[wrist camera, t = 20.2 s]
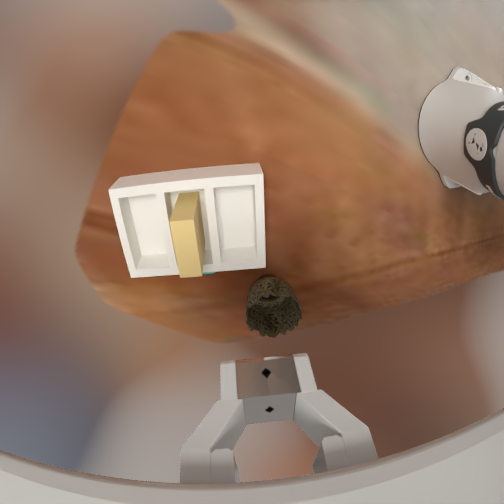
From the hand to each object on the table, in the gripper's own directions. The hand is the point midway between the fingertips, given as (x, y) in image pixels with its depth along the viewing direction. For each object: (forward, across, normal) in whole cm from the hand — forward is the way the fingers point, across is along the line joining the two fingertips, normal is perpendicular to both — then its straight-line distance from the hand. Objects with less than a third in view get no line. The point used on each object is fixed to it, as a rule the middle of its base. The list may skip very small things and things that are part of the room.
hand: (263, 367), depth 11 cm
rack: (+31, +6, +8) cm, 33 cm away
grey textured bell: (+31, -4, +20) cm, 37 cm away
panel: (+30, +6, +8) cm, 32 cm away
